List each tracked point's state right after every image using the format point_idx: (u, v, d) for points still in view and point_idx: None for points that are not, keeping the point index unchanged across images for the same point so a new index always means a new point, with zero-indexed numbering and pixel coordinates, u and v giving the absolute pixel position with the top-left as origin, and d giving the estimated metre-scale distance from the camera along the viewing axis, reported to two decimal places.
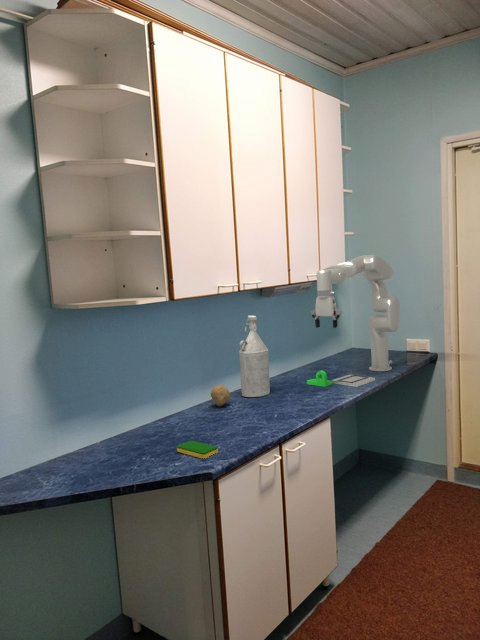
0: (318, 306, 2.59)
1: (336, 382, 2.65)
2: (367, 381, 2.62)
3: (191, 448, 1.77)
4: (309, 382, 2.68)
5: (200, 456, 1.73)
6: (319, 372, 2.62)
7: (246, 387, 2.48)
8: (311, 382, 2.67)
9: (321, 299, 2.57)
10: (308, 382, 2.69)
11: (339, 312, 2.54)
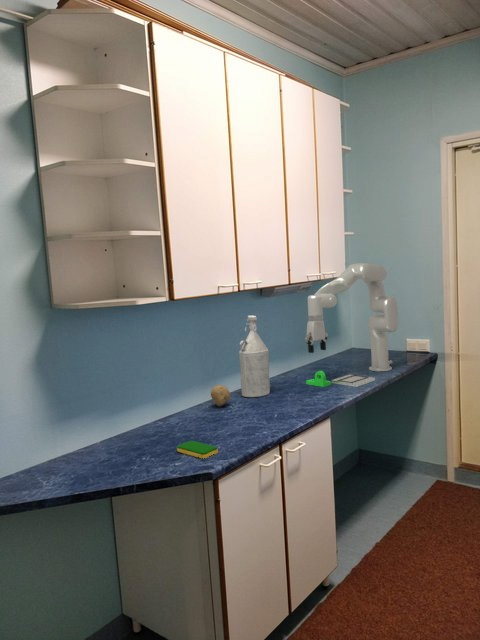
0: (316, 331, 2.61)
1: (336, 382, 2.65)
2: (367, 381, 2.62)
3: (191, 448, 1.77)
4: (308, 382, 2.68)
5: (200, 456, 1.73)
6: (318, 372, 2.62)
7: (246, 387, 2.48)
8: (310, 382, 2.67)
9: (318, 323, 2.62)
10: (307, 382, 2.69)
11: (327, 334, 2.70)
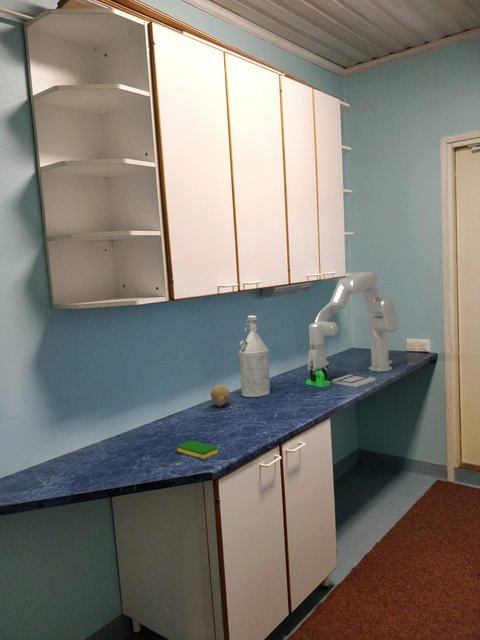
0: (317, 359, 2.62)
1: (336, 382, 2.65)
2: (367, 381, 2.62)
3: (191, 448, 1.77)
4: (308, 382, 2.68)
5: (200, 456, 1.73)
6: (317, 372, 2.62)
7: (246, 387, 2.48)
8: (310, 382, 2.67)
9: (320, 352, 2.63)
10: (307, 382, 2.69)
11: (328, 363, 2.71)
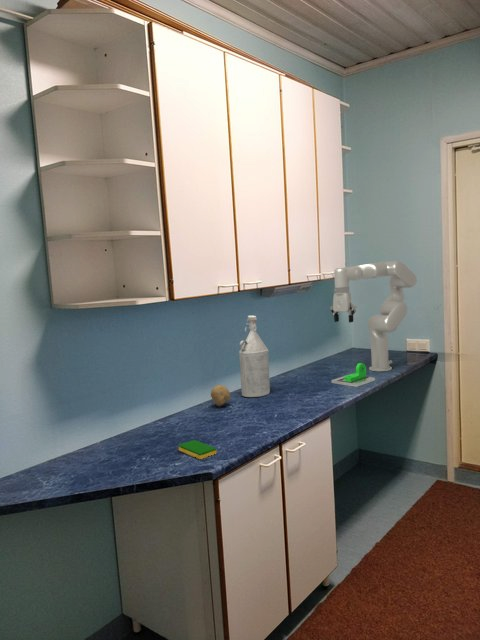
0: None
1: (336, 382, 2.65)
2: (367, 381, 2.62)
3: (190, 448, 1.77)
4: (353, 378, 2.62)
5: (197, 457, 1.73)
6: (361, 364, 2.65)
7: (246, 387, 2.48)
8: (355, 378, 2.63)
9: None
10: (352, 379, 2.62)
11: None
